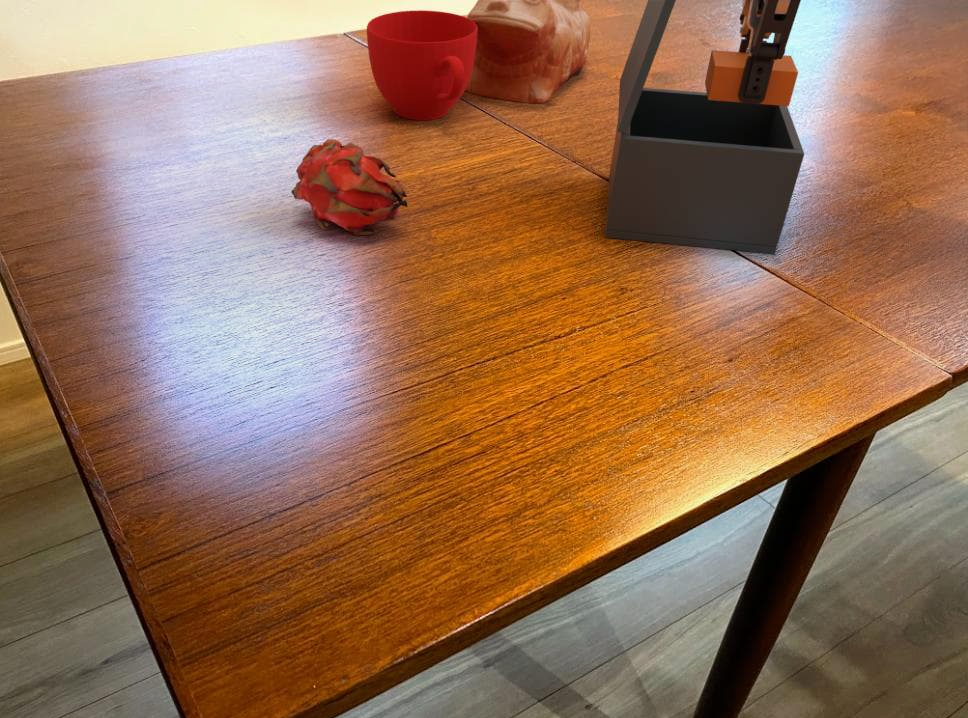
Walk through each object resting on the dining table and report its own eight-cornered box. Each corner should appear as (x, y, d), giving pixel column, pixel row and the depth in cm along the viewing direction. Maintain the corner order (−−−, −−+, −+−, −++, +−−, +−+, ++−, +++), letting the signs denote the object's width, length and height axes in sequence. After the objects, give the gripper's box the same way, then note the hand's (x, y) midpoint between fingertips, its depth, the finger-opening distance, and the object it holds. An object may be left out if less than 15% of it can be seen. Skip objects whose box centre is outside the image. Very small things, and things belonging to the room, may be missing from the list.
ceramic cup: (405, 150, 99) (405, 59, 93) (353, 99, 111) (350, 16, 105) (507, 133, 103) (513, 45, 97) (446, 86, 115) (449, 5, 109)
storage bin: (759, 191, 92) (784, 98, 86) (774, 254, 82) (804, 153, 76) (608, 178, 94) (622, 85, 88) (605, 237, 84) (620, 137, 78)
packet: (782, 89, 81) (791, 55, 79) (789, 106, 78) (798, 72, 76) (704, 83, 82) (711, 49, 80) (707, 100, 79) (715, 65, 77)
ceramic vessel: (435, 101, 111) (438, -28, 102) (509, 44, 130) (518, -69, 120) (539, 120, 107) (552, -13, 97) (600, 58, 125) (616, -58, 116)
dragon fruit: (300, 217, 89) (400, 263, 86) (258, 199, 81) (366, 249, 78) (333, 138, 88) (436, 181, 85) (293, 112, 80) (405, 159, 77)
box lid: (692, -100, 77) (631, -117, 77) (701, -69, 67) (630, -88, 67) (627, 82, 88) (573, 67, 88) (625, 134, 77) (564, 116, 77)
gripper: (868, -109, 63) (801, 124, 74) (834, -138, 74) (780, 69, 85) (760, -114, 64) (709, 117, 75) (742, -142, 75) (700, 63, 86)
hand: (747, 90), depth 80 cm, fingers closed on packet, 4 cm apart
